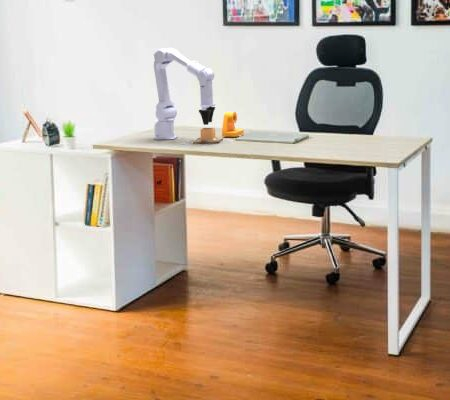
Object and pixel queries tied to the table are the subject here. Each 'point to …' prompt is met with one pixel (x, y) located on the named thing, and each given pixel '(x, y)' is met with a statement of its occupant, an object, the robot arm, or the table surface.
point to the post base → (208, 141)
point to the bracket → (230, 125)
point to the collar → (207, 133)
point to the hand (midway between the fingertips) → (207, 123)
